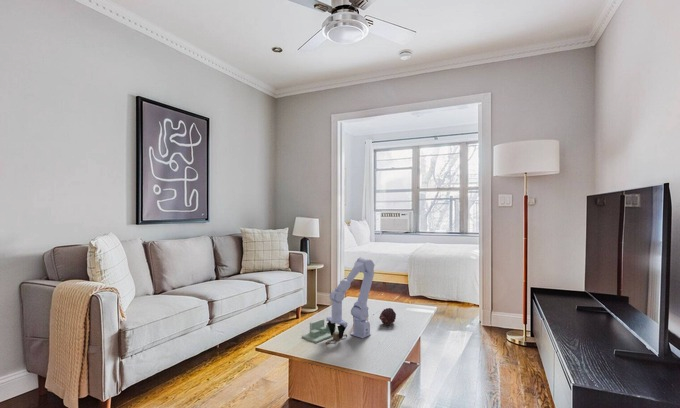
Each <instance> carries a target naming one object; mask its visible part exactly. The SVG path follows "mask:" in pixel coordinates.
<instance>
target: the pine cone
mask: <svg viewBox="0 0 680 408" xmlns="http://www.w3.org/2000/svg"><path fill="white" fill-rule="evenodd" d="M396 317H397V314H396V312H395V310H394V309H393V308H391V307H389V308H384V309H383V310H382V311H381V312H380V313H379V320H381V323H382V324H383V325H385V326H390V325H393V323H395V320H396V319H397V318H396Z"/></svg>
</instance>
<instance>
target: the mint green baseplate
mask: <svg viewBox="0 0 680 408" xmlns="http://www.w3.org/2000/svg"><path fill="white" fill-rule="evenodd" d="M336 325H337V324H335V332H339V331H338V328H336V327H337V326H336ZM301 338H303V339H304V340H308V341H311V342H313V343H314V344H318V343H320V342H323V341H325V340H329V339H330V338H333V335H332V336H331V333H330V330H329V327H328V325H327V324H325V318H319V319H317V320H313V321H309V333H305V334H303V335H301Z"/></svg>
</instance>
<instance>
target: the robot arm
mask: <svg viewBox="0 0 680 408" xmlns="http://www.w3.org/2000/svg"><path fill="white" fill-rule="evenodd" d="M374 268H375V263H374V262H373V260H372V259H368V258H364V257H359V258H357V259H356V261H355V262H354V265H353V267H352V268H351V270H350V271H349V273H348V275H347V277H346V278H345V279H341V280H340V281H339V284H338V285H337V286H336V287H335V289H334V290H331V292H330V294H329V299H330V300H331V317H330V316H327V317H326V318H325V319H326V325H328V327H329V330H330V333H331V336H332V335H333V333H334V332H335V325H337V326H336V327H337V329H338V331H339V338H340V339H341V338H343V335H345V331H346V329H347V327H348V322H347V321H345V320H344V319H343V314H342V313H343V309H342V308H343V307H342V306H343V305H342V304H343V300H344V298H345V295H346V293H347V292H348V290H349V289H350V287H351V283H352V282H353V281H354V279H355V278H356V277H357V275H358V274H359V273H363V278H362V283H361V285H360V286H361V287H360V289H359V294H358V298H357V301H355V302H354V303H353V306H352V307H351V310H350V315H351V316H352V322H353V325H352V326H353V330H352V332H351V333H349V334H350V335H351V336H354V337H357V338H359V339H364V338H367V337H369V336H371V335H372V333H371V323H370V322H369V321H368V320H367V319H368V317H369V306H368V299H369V295H370V291H371V288H372V284H373V280H374V277H375V270H374ZM341 340H342V339H341Z"/></svg>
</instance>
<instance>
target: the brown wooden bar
mask: <svg viewBox="0 0 680 408" xmlns="http://www.w3.org/2000/svg"><path fill="white" fill-rule="evenodd" d="M347 337H348V334H346V333H344V334H343V338H341V339H340V338H339V332H334V333H333V337H332V339H327V340H326V342H325V344H326V345H334V344H335V343H336V342H339V341H341V340H346V338H347Z"/></svg>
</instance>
